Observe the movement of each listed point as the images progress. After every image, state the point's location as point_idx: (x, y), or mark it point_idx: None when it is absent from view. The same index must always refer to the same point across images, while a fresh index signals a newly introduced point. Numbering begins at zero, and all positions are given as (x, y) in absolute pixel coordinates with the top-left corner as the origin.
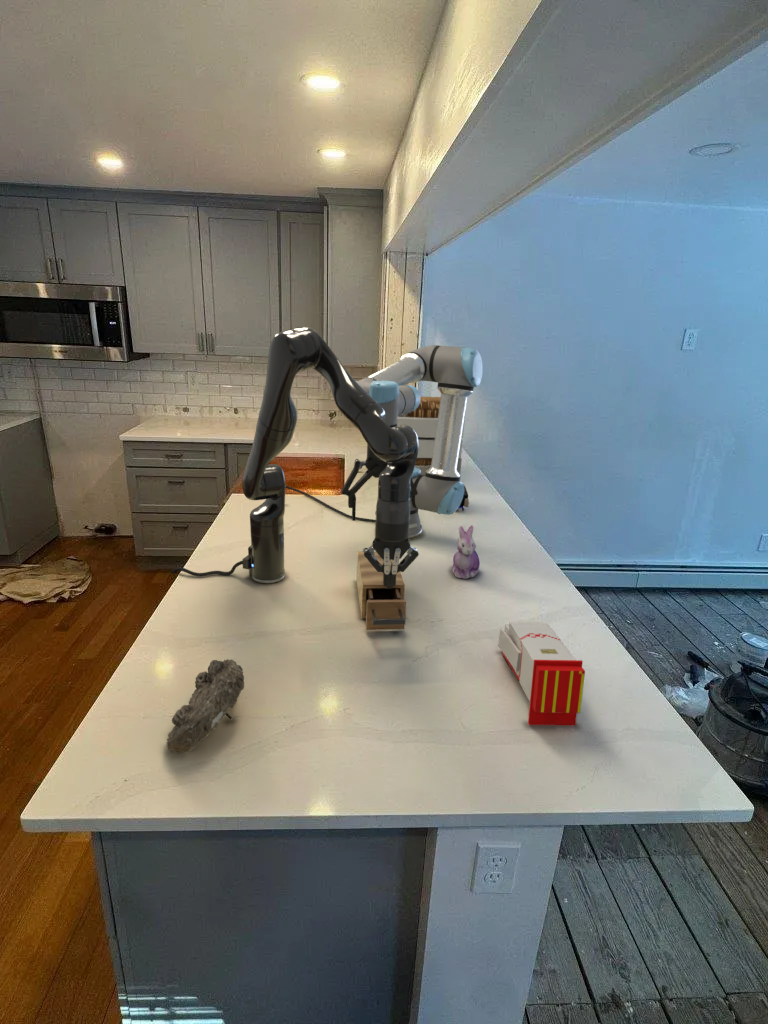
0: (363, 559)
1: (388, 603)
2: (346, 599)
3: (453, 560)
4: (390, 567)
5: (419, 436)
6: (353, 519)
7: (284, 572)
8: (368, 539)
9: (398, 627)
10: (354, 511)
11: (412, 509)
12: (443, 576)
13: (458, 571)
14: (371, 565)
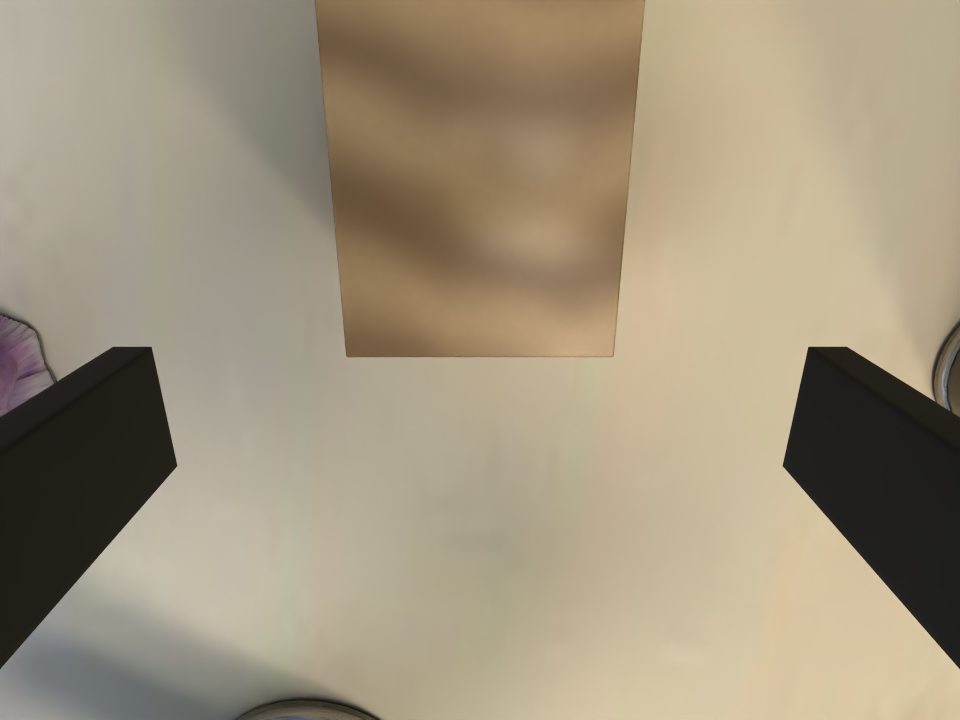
0: (588, 220)
1: None
2: (659, 88)
3: None
4: (392, 62)
5: None
6: (844, 352)
7: (954, 369)
8: (467, 709)
9: None
10: (911, 407)
11: None
12: (107, 345)
13: (2, 346)
14: (541, 104)
